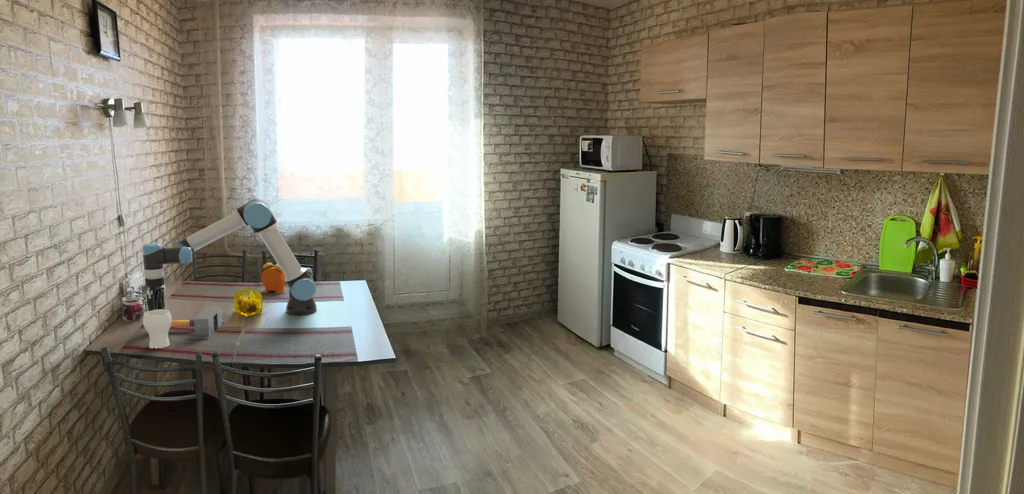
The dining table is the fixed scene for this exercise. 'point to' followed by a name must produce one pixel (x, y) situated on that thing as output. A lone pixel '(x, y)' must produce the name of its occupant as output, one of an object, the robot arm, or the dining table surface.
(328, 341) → the dining table surface
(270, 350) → the dining table surface
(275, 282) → the alarm clock
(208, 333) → the housing
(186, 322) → the hammer
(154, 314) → the cup
